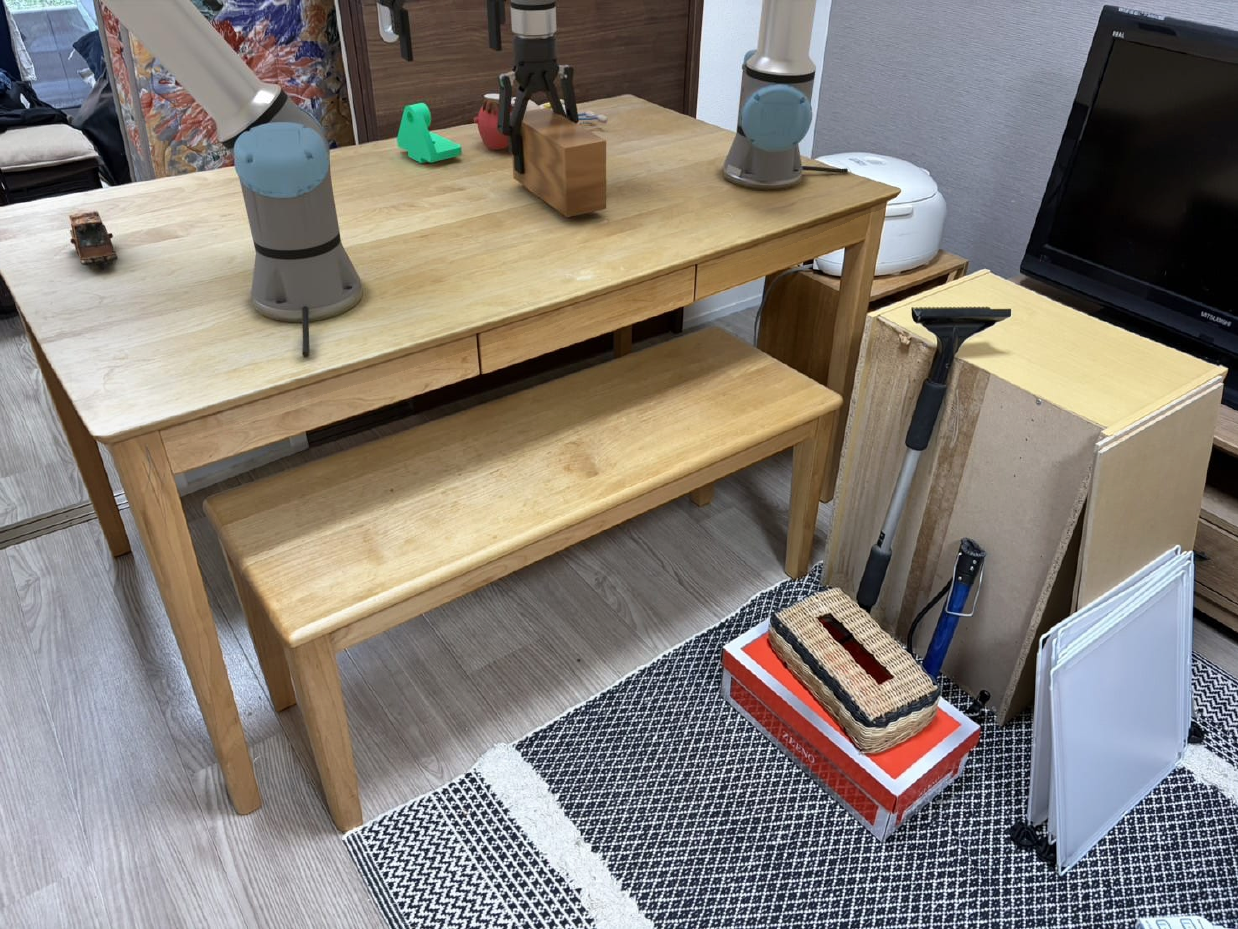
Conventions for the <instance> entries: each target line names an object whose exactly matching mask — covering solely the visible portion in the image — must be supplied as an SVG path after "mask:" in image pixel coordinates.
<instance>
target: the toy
mask: <svg viewBox="0 0 1238 929" xmlns="http://www.w3.org/2000/svg"><path fill="white" fill-rule="evenodd" d="M559 99H560V101H561V104H562V106H563V108H564V111H565V113H566V110H565V104H564V99H561V98H559ZM515 100H516V96H514V97H513V96H512V99H511V111H510V113H512V110H513V106H514V103H515ZM498 107H499V93H487V94H484V99H483V101H482V106H481V107H480V109H479V112H478V115H477V116H475V117H473V122H474V123H475V124H477V129H478V133H479V135H480V138H481V140H482V142H483V144H484V145H485V146H486V148H488V149H490V150H502V149H508V148H509V145H508V136H507V135H506V136H505V135H503V134H501V133H500V132H498V131H497V121H498ZM542 108H549V109H551V110H552V107H551V105H550V103H549V102H545V103H542V104H540V105H539V104H538V102H537V101H535V100H533V99H530V100H529V101H528V104H527V108H526V111H529V110H536V109H542ZM583 116H585V117H583ZM578 118H579V121H594V120H597V122H599V123H602V124H607V123H608V121H609V119H608V117H607V116H606V115H603V114H598V115H597V114H596V113H595V111H591V110H587V111H585V112H582V113H581V112H580V113H578Z"/></svg>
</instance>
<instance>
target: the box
mask: <svg viewBox="0 0 1238 929" xmlns="http://www.w3.org/2000/svg"><path fill="white" fill-rule="evenodd" d="M510 117H511V113H510ZM518 135H520V136H521V137H522V139H523V156H524V174H520V173H518V172H517V171H515V170H514V155H512V154H511V160H512V161H511V163H512V176H513V178H512V179H514V181H516V182H517V183H519V184H520V185H522V186H523V187H524V188H526V189H527V190H528V191H530V192H531V193H533V194H534V195H536V196H537V197H538V198H540V199H541V200H542V201H544V202H545V203H547V204H548V205H549V206H551V207H552V208H553V209H554V210H556V211H557V212H559V213H560V214H562V216H565V217H566V218H570V217H573V216H574V217H576V216H580V215H584V214H589V213H594V212H598V211H603V210H607V140H606V139H604V138H602V137H601V136H599V135H597V134H595V133H593V132H592V131H590V130H589V129H587V128H584V127H583V126H581V125H580V124H578V123H577V124H576V123H574V122H572V121H571V120H569V119H567V118H565V117H564V116H562V115H559V114H557V113H555V112H553V110H551V109H549V108H542V109H536V110H529V111H525V114H524V118H523V121H521V128H520V131H519V134H518Z"/></svg>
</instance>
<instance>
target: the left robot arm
mask: <svg viewBox="0 0 1238 929" xmlns="http://www.w3.org/2000/svg"><path fill="white" fill-rule="evenodd" d="M99 1H100V2H101V3H102V4H103V5H104V6H105V7H106V8H107V9H108V10H109V11H110V12H111V13H112V15H114V16H115V18H117V20H118V21H119V22H120V23H121V24H122V25H123V26H124V27H125V28H126V29H127V31H129V32H130V33H131V35H133V37H135V39H137V41H138V42H139V43H140V44H141V45H142V46H143V47H144V48H145V50H147V52H149V53H150V54H151V55H152V57H154V59H155V60H156V61H157V62H158V63H159V64H160V65H161V66H162V67H163V68H164V69H165V70H166V72H168V74H170V75H171V77H172V78H173V79H174V80H175V81H176V82H177V83H178V84H179V85H180V86H181V87H182V88H183V89H184V91H186V92H187V94H189V95H190V97H191V98H192V99H193V100H194V101H195V102H196V103H197V104H198V105H199V106H200V107H201V108H202V109H203V110H204V112H206V113H207V115H209V117H210V118H211V119H212V120H213V121H214V123H215V125H216V140H218V142H219V143H220V144H221V145H222V146H223V147H224V148H225V150H227V151H228V152H229V153H230V154H231V155H232V157H234V158H233V159H234V161H233V162H234V165H233V166H234V169H235V173H236V174H237V177H238V179H239V183H240V188H241V193H242V197H243V201H244V206H245V211H246V215H247V219H248V220H247V221H248V223H249V228H250V234H251V237H252V238H251V239H252V242H253V247H254V251H255V258H254V264H253V273H252V283H251V289H250V294H251V299H252V303H253V307H254V309H255V310H256V311H257V313H259V314H260V315H262V316H264V317H266V318H268V319H271V320H275V321H281V322H289V323H301V325H302V354H301V355H302V357H303V358H308V357H309V356H310V326H309V323H310V322H314V321H315V322H316V321H320V320H326V319H330V318H332V317H336V316H338V315H341V314H343V313H345V312H348V311H349V310H351V309H353V308H354V307H355V306H356V305H357V304H358V303H359V302H360V301H361V298H362V297H363V287H362V282H361V278H360V276H359V274H358V272H357V270H356V268H355V266H354V264H353V263H352V261H351V259H350V257H349V255H348V253H347V251H346V250H345V248H344V245H343V243H342V239H341V233H340V225H339V220H338V214H337V209H336V202H335V196H334V195H335V194H334V190H333V182H332V174H331V157H330V156H331V150H330V145H329V140H328V137H327V135H326V132H325V130H324V128H323V127H322V125H321V124H320V122H319V121H318V120H317V119H316V117H315V116H314V115H312V114H311V112H309V111H308V110H306V109H305V108H303V107H301V106H299V105H297V104H296V103H295V101H293V99H292V98H291V97H290V96H289V95H288V94H287V93H286V91H285V90H284V89H283V88H282V87H281V86H280V85H279V84H276V83H269V82H264V81H262V80H261V79H260V78H259V77H258V76H257V75H256V74H255V72H254V71H253V70H252V69H251V68H250V67H249V65H247V63H246V62H245V61H244V60H243V59H242V57H241V56H240V55H238V53H237V52H236V51H235V50H234V49H233V47H232V46H231V45H230V44H229V43H228V42H227V41H226V40H225V38H224V37H223V35H221V34H220V33H219V31H218V30H217V29H216V28H215V27H214V26H213V25H212V24H211V23H210V21H209V20H208V19H207V18H206V17H205V16H204V14H202V12H201V11H200V10H199V9H198V8H197V7H196V5H195V4H193V2H192V1H191V0H99ZM507 1H508V0H486V12H487V13H486V15H487V29H488V30H487V31H488V33H487V34H488V47H489V48H490V49H492V50H493V51H494V52H495V51H496V52H503V51H502V50H503V48H502V29H501V26H502V25H503V26H504V25H505V24H506V20H507V19H506V2H507ZM374 2H375V3H377V4H378V5H380V6H382V7H386V8H387V9H388V10H389V17H390V18H389V19H390V25H391V31H392V33H393V34H394V35H395V36H398V38H399V48H400V56H401V58H402V59H403V60H405V61H407V62H414V55H413V45H412V44H413V43H412V34H411V27H410V16H409V10H408V9H406V8H404V7H403V6H404V5H405V3H406V2H407V0H374Z"/></svg>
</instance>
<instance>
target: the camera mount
mask: <svg viewBox="0 0 1238 929" xmlns="http://www.w3.org/2000/svg"><path fill="white" fill-rule="evenodd" d="M431 123H432V114H431V111H430V109H429V107H428V106H427V104H425V103H424V102H419V103H414V104H409V105H406V106H405V107H404V110H403V114H402V117H401V121H400V125H399V129H398V133H397V137H396V143H397V147H398V148H400V149H402V150H404V151H406V152H407V156H408V158H410V159H412V160H413V161H416V162H418V163H420V164H424V163H427V162H428V163H435V162H438V161H439V162H440V161H443V160H447V159H452V158H456V157H459V156H461V155H463V153H462V151H463V150H462V145H461V144H458V143H457V142H454V141H452V140H449V139H447V138H445V137H443V136H441V135H439V134H437V133H434V132H431V131H430V130H429V128H428V127H429V126H430V125H431Z"/></svg>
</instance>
